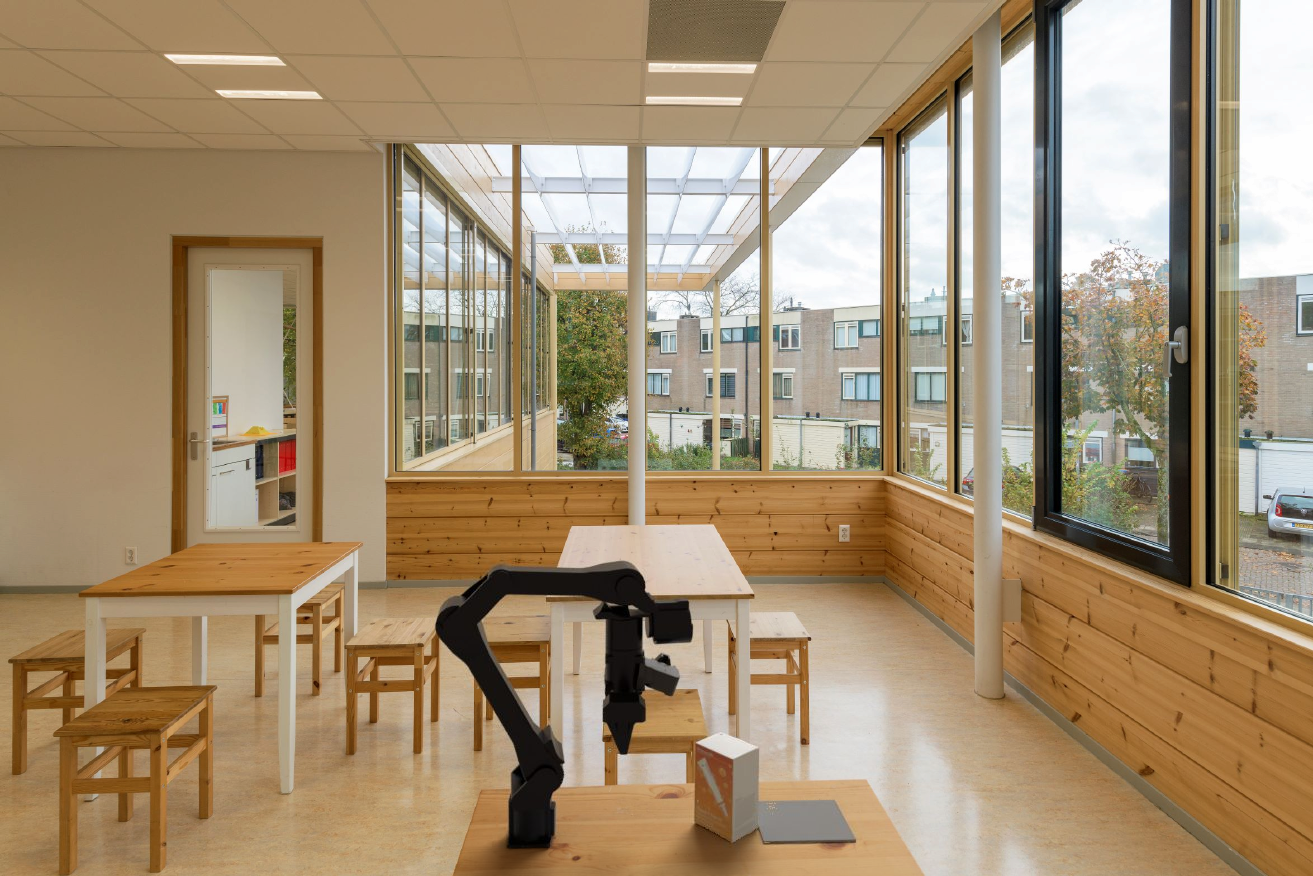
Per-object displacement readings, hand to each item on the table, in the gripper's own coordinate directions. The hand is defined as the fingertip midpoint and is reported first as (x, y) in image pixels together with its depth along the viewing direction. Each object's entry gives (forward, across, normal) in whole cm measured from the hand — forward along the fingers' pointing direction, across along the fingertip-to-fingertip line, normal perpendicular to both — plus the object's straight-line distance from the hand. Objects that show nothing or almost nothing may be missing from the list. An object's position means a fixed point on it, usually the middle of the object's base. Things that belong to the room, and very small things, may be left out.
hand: (623, 745), depth 123 cm
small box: (+13, 0, -16) cm, 21 cm away
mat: (+13, +1, -28) cm, 31 cm away
